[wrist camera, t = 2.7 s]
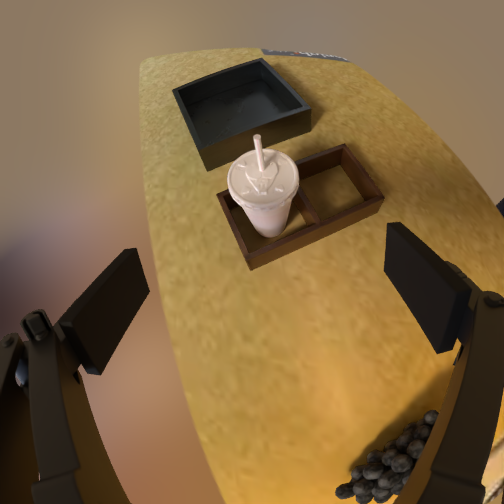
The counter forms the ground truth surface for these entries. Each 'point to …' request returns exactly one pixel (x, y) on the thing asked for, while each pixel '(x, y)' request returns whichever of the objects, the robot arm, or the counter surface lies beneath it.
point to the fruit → (389, 464)
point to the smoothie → (264, 187)
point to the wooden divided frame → (315, 225)
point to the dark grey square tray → (241, 111)
